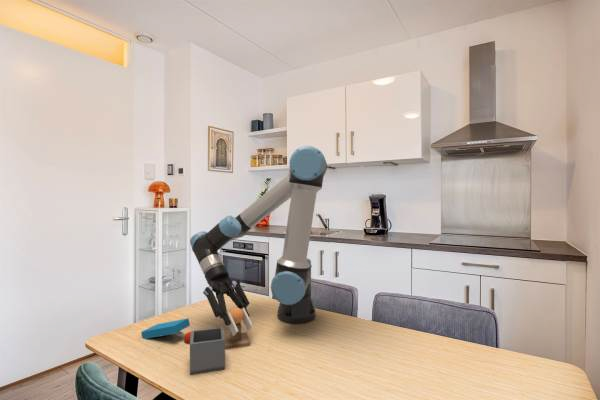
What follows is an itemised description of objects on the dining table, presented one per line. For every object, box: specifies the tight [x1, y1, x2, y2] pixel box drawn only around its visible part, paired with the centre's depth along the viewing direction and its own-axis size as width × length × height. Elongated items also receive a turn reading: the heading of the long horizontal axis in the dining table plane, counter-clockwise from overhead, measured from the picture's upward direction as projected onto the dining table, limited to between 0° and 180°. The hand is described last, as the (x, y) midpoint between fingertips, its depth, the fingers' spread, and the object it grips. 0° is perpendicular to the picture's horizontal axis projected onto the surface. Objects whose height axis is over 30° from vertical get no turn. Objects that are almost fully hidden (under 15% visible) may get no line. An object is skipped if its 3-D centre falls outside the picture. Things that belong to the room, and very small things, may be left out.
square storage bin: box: [189, 326, 226, 376], centre depth 87 cm, size 9×9×8 cm
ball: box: [229, 307, 244, 324], centre depth 100 cm, size 5×5×5 cm
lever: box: [140, 317, 191, 344], centre depth 103 cm, size 7×7×18 cm
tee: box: [224, 321, 251, 350], centre depth 100 cm, size 8×8×6 cm
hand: (243, 330), depth 98 cm, fingers closed on ball, 5 cm apart
